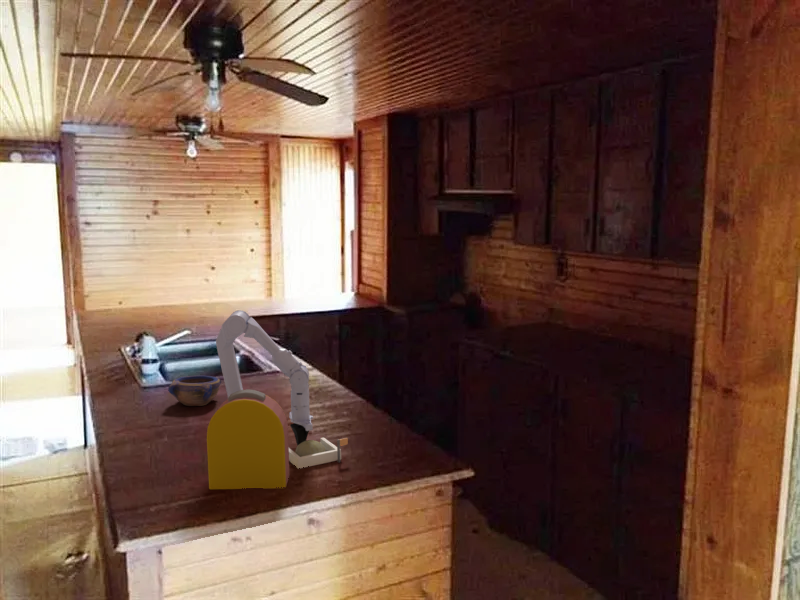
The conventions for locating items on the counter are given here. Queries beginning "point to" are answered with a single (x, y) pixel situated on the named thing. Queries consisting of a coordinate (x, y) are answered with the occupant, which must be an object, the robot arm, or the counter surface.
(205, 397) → the bowl
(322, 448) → the sea urchin shell
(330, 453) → the shallow white tray
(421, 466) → the counter surface
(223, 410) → the yellow arched block
